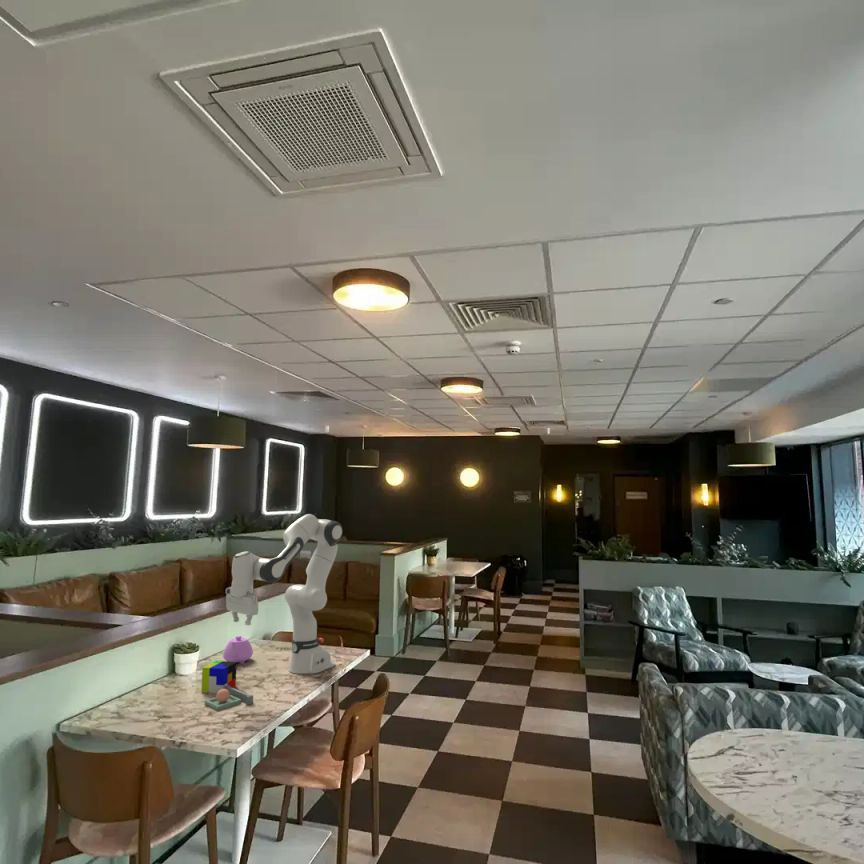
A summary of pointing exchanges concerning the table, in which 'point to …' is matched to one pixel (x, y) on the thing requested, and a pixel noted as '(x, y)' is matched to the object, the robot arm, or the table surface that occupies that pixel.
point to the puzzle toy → (218, 676)
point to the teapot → (238, 650)
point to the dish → (218, 706)
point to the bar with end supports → (239, 694)
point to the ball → (222, 695)
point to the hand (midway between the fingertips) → (242, 623)
